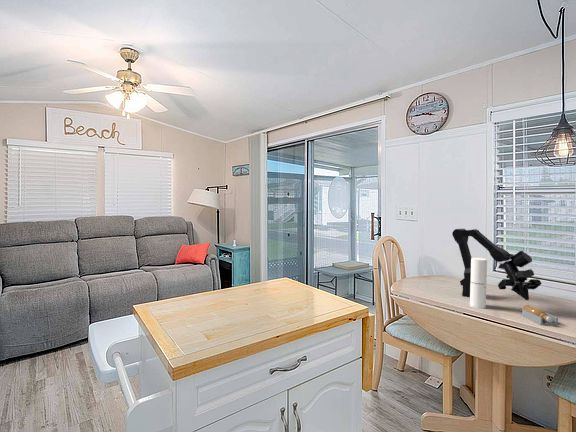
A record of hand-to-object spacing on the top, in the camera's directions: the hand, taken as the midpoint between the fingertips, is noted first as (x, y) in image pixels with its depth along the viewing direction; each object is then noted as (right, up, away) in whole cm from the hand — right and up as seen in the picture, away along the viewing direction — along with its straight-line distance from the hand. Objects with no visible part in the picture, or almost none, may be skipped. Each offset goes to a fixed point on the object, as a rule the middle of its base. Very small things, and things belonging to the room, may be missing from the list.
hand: (527, 299), depth 157 cm
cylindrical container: (-16, -7, +13) cm, 22 cm away
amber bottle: (0, -5, 0) cm, 5 cm away
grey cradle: (0, -8, -7) cm, 10 cm away
